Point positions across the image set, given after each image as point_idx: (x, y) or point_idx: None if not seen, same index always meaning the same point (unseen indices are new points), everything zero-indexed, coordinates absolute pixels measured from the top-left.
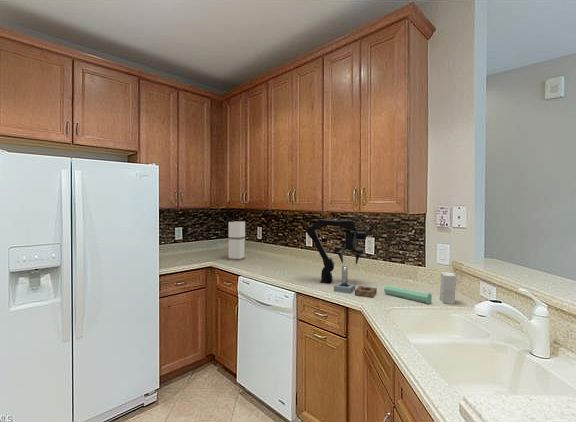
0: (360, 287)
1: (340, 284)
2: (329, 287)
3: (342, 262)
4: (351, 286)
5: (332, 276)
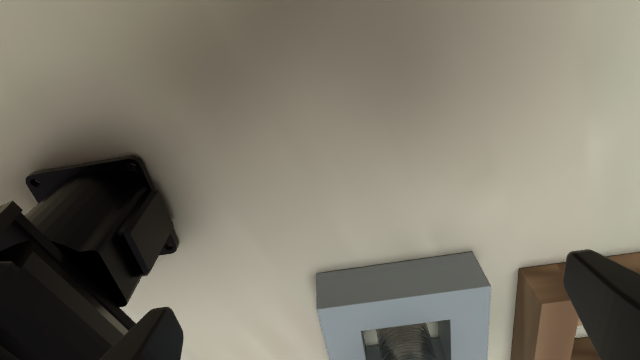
0: (561, 338)
1: (363, 355)
2: (254, 320)
3: (180, 346)
4: (476, 352)
5: (136, 228)
